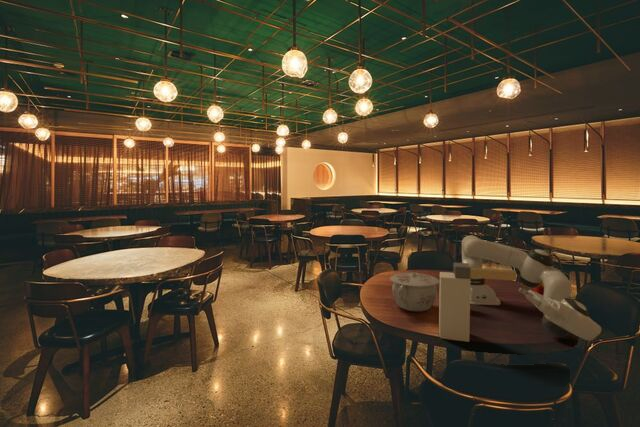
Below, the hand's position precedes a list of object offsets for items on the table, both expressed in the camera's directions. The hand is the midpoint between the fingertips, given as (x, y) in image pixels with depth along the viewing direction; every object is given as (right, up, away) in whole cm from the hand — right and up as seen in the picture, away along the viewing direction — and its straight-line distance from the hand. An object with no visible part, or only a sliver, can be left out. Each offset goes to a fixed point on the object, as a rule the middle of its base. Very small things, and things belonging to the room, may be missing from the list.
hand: (523, 292), depth 131 cm
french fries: (+45, -19, +53) cm, 72 cm away
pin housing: (-26, -22, +10) cm, 35 cm away
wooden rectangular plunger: (-13, +6, +4) cm, 15 cm away
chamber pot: (-33, -20, +45) cm, 60 cm away
